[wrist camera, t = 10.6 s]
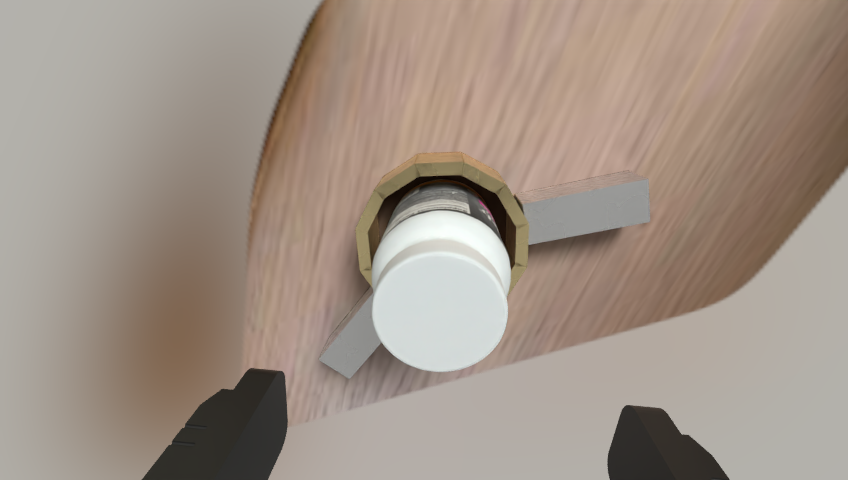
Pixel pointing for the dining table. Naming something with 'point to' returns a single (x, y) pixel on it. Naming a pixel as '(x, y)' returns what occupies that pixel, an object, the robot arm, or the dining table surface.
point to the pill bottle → (441, 279)
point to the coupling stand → (525, 224)
